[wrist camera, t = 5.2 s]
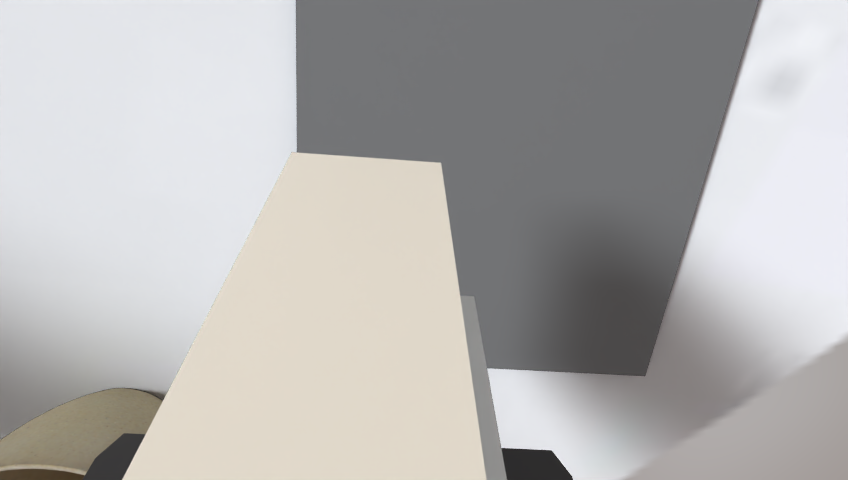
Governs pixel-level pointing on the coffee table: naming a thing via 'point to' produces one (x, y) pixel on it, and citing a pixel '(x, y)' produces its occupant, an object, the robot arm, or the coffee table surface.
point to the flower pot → (74, 434)
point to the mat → (538, 149)
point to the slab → (330, 340)
